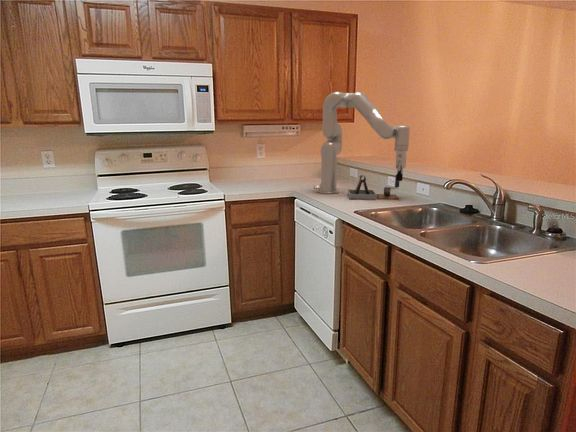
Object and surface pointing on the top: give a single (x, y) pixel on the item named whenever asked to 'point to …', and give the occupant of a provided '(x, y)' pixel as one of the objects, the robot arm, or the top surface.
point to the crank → (387, 189)
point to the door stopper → (360, 185)
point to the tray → (362, 195)
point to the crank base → (388, 197)
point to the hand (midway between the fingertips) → (399, 180)
